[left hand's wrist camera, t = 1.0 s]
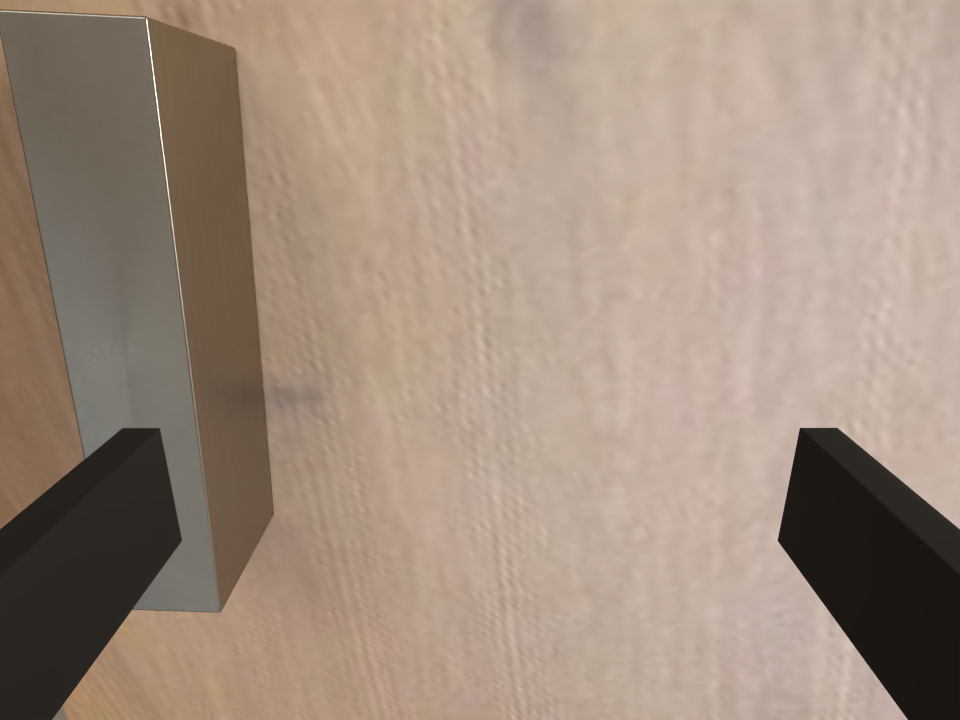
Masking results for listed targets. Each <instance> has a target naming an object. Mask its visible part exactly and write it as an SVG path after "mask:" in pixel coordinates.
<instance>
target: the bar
mask: <svg viewBox="0 0 960 720" xmlns="http://www.w3.org/2000/svg"><path fill="white" fill-rule="evenodd" d="M0 34H1V39H2V44H3V50H4V55H5V60H6V65H7V70H8V75H9V80H10V85H11V90H12V95H13V100H14V105H15V110H16V115H17V120H18V125H19V130H20V135H21V140H22V145H23V151H24V156H25V161H26V166H27V171H28V176H29V181H30V186H31V191H32V196H33V201H34V206H35V211H36V216H37V221H38V226H39V231H40V236H41V241H42V246H43V251H44V257H45V262H46V267H47V272H48V277H49V282H50V287H51V292H52V297H53V302H54V307H55V312H56V317H57V322H58V327H59V332H60V337H61V342H62V347H63V352H64V358H65V363H66V368H67V373H68V378H69V383H70V388H71V393H72V398H73V403H74V408H75V413H76V418H77V423H78V428H79V433H80V438H81V443H82V448H83V453H84V459H86V458H87V457H88V456H89V455H91V454H92V453H93V452H94V451H96V450H97V449H98V448H99V447H100V446H102V445H103V444H104V443H105V442H106V441H108V440H109V439H110V438H111V437H112V436H114V435H115V434H116V433H117V432H118V431H120V430H121V429H122V428H160V431H161V436H162V441H163V446H164V451H165V456H166V461H167V466H168V471H169V476H170V481H171V486H172V492H173V497H174V502H175V507H176V512H177V517H178V522H179V527H180V532H181V537H182V542H181V543H180V544H179V546H178V547H177V549H176V550H175V551H174V553H173V554H172V555H171V557H170V558H169V560H168V561H167V562H166V564H165V565H164V566H163V568H162V569H161V571H160V572H159V573H158V575H157V576H156V577H155V579H154V580H153V582H152V583H151V584H150V586H149V587H148V588H147V590H146V591H145V593H144V594H143V595H142V597H141V598H140V599H139V601H138V602H137V604H136V605H135V606H134V608H133V609H132V610H158V611H188V612H218V613H219V612H221V611H222V609H223V607H224V606H225V604H226V602H227V600H228V598H229V596H230V594H231V593H232V591H233V589H234V587H235V585H236V583H237V581H238V580H239V578H240V576H241V574H242V572H243V570H244V569H245V567H246V565H247V563H248V561H249V559H250V557H251V556H252V554H253V552H254V550H255V548H256V546H257V544H258V543H259V541H260V539H261V537H262V535H263V533H264V531H265V530H266V528H267V526H268V524H269V522H270V520H271V518H272V517H273V515H274V512H273V499H272V487H271V475H270V463H269V451H268V439H267V427H266V415H265V403H264V391H263V379H262V367H261V355H260V343H259V331H258V319H257V307H256V295H255V282H254V270H253V258H252V246H251V234H250V222H249V210H248V198H247V186H246V174H245V162H244V150H243V138H242V126H241V114H240V102H239V90H238V78H237V65H236V53H235V48H234V47H231V46H228V45H226V44H223V43H220V42H217V41H214V40H211V39H208V38H206V37H203V36H200V35H197V34H194V33H191V32H188V31H186V30H183V29H180V28H177V27H174V26H171V25H168V24H166V23H163V22H160V21H157V20H154V19H151V18H148V17H145V16H127V15H107V14H86V13H65V12H44V11H24V10H3V9H0Z"/></svg>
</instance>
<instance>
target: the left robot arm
mask: <svg viewBox="0 0 960 720" xmlns="http://www.w3.org/2000/svg"><path fill="white" fill-rule="evenodd" d="M181 542H182V537H181V532H180V527H179V522H178V517H177V512H176V507H175V502H174V497H173V492H172V486H171V481H170V476H169V471H168V466H167V461H166V456H165V451H164V446H163V441H162V436H161V431H160V428H122V429H121V430H120V431H118V432H117V433H116V434H115V435H114V436H112V437H111V438H110V439H109V440H108V441H106V442H105V443H104V444H103V445H102V446H100V447H99V448H98V449H97V450H96V451H94V452H93V453H92V454H91V455H89V456H88V457H87V458H86V459H85V460H83V461H82V462H81V463H80V464H79V465H77V466H76V467H75V468H74V469H73V470H71V471H70V472H69V473H68V474H67V475H65V476H64V477H63V478H62V479H61V480H59V481H58V482H57V483H56V484H55V485H53V486H52V487H51V488H50V489H49V490H47V491H46V492H45V493H44V494H42V495H41V496H40V497H39V498H38V499H36V500H35V501H34V502H33V503H32V504H30V505H29V506H28V507H27V508H26V509H24V510H23V511H22V512H21V513H20V514H18V515H17V516H16V517H15V518H14V519H12V520H11V521H10V522H9V523H8V524H6V525H5V526H4V527H3V528H2V529H0V720H52V719H53V718H54V716H55V715H56V713H57V712H58V711H59V709H60V708H61V707H62V705H63V704H64V702H65V701H66V700H67V698H68V697H69V696H70V694H71V693H72V691H73V690H74V689H75V687H76V686H77V685H78V683H79V682H80V680H81V679H82V678H83V676H84V675H85V674H86V672H87V671H88V669H89V668H90V667H91V665H92V664H93V663H94V661H95V660H96V659H97V657H98V656H99V654H100V653H101V652H102V650H103V649H104V648H105V646H106V645H107V643H108V642H109V641H110V639H111V638H112V637H113V635H114V634H115V632H116V631H117V630H118V628H119V627H120V626H121V624H122V623H123V621H124V620H125V619H126V617H127V616H128V615H129V613H130V612H131V610H132V609H133V608H134V606H135V605H136V604H137V602H138V601H139V599H140V598H141V597H142V595H143V594H144V593H145V591H146V590H147V588H148V587H149V586H150V584H151V583H152V582H153V580H154V579H155V577H156V576H157V575H158V573H159V572H160V571H161V569H162V568H163V566H164V565H165V564H166V562H167V561H168V560H169V558H170V557H171V555H172V554H173V553H174V551H175V550H176V549H177V547H178V546H179V544H180V543H181ZM778 542H779V543H780V544H781V546H782V547H783V549H784V550H785V551H786V553H787V554H788V555H789V557H790V558H791V560H792V561H793V562H794V564H795V565H796V566H797V568H798V569H799V571H800V572H801V573H802V575H803V576H804V577H805V579H806V580H807V582H808V583H809V584H810V586H811V587H812V588H813V590H814V591H815V593H816V594H817V595H818V597H819V598H820V599H821V601H822V602H823V604H824V605H825V606H826V608H827V609H828V610H829V612H830V613H831V615H832V616H833V617H834V619H835V620H836V621H837V623H838V624H839V626H840V627H841V628H842V630H843V631H844V632H845V634H846V635H847V637H848V638H849V639H850V641H851V642H852V643H853V645H854V646H855V648H856V649H857V650H858V652H859V653H860V654H861V656H862V657H863V659H864V660H865V661H866V663H867V664H868V665H869V667H870V668H871V670H872V671H873V672H874V674H875V675H876V676H877V678H878V679H879V680H880V682H881V683H882V685H883V686H884V687H885V689H886V690H887V691H888V693H889V694H890V696H891V697H892V698H893V700H894V701H895V702H896V704H897V705H898V707H899V708H900V709H901V711H902V712H903V713H904V715H905V716H906V718H907V719H908V720H960V529H958V528H957V527H956V526H955V525H954V524H952V523H951V522H950V521H949V520H948V519H946V518H945V517H944V516H943V515H942V514H940V513H939V512H938V511H937V510H936V509H934V508H933V507H932V506H931V505H930V504H928V503H927V502H926V501H925V500H924V499H922V498H921V497H920V496H919V495H917V494H916V493H915V492H914V491H913V490H911V489H910V488H909V487H908V486H907V485H905V484H904V483H903V482H902V481H901V480H899V479H898V478H897V477H896V476H895V475H893V474H892V473H891V472H890V471H889V470H887V469H886V468H885V467H884V466H883V465H881V464H880V463H879V462H878V461H877V460H875V459H874V458H873V457H872V456H871V455H869V454H868V453H867V452H866V451H864V450H863V449H862V448H861V447H860V446H858V445H857V444H856V443H855V442H854V441H852V440H851V439H850V438H849V437H848V436H846V435H845V434H844V433H843V432H842V431H840V430H839V429H838V428H800V431H799V436H798V441H797V446H796V451H795V456H794V461H793V466H792V471H791V476H790V481H789V486H788V492H787V497H786V502H785V507H784V512H783V517H782V522H781V527H780V532H779V537H778Z"/></svg>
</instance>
